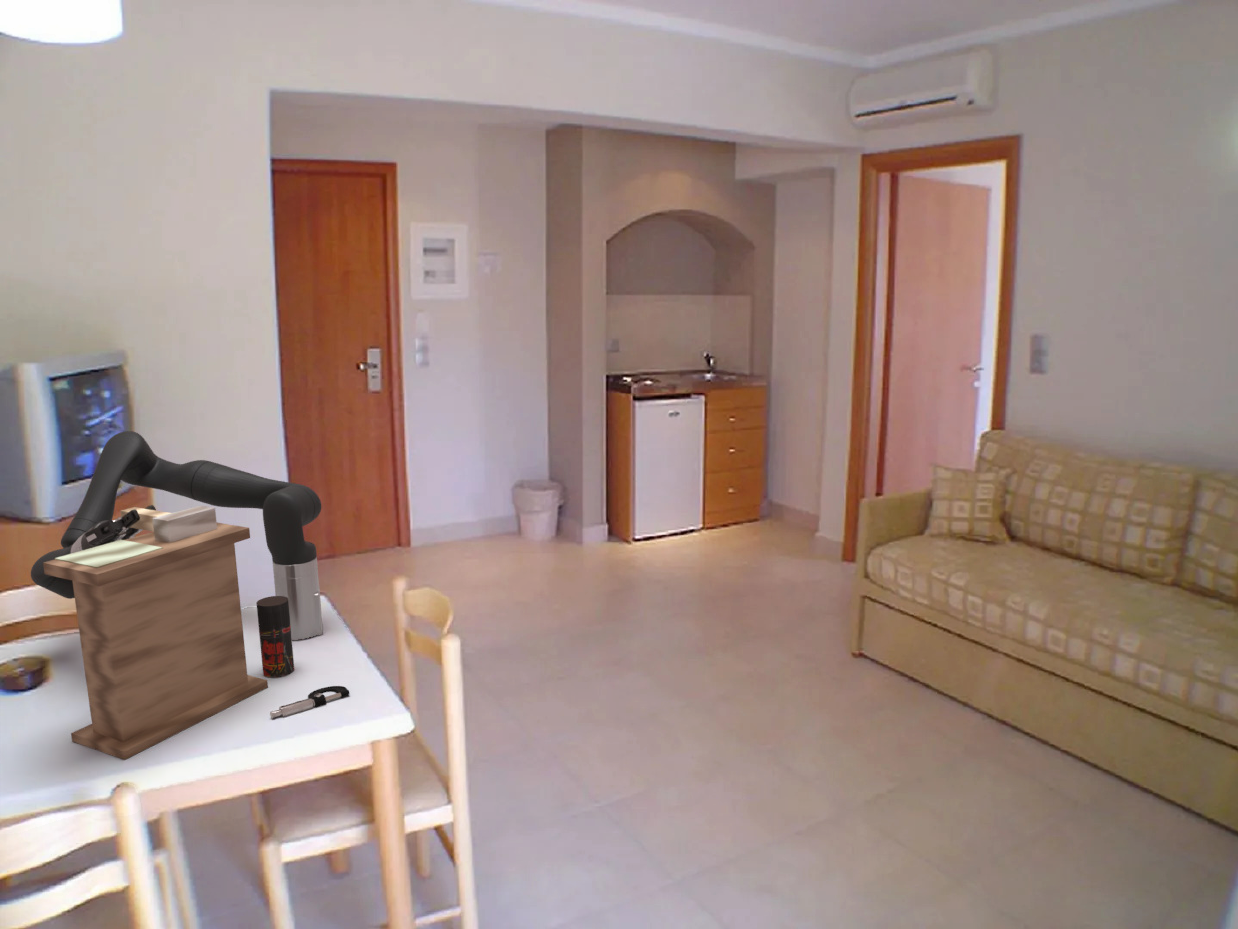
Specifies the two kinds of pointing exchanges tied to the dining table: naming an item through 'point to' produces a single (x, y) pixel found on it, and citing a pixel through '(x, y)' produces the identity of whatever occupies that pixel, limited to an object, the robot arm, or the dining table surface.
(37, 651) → the dining table surface
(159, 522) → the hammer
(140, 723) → the stand
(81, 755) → the dining table surface
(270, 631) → the deodorant
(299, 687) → the dining table surface
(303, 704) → the micrometer
